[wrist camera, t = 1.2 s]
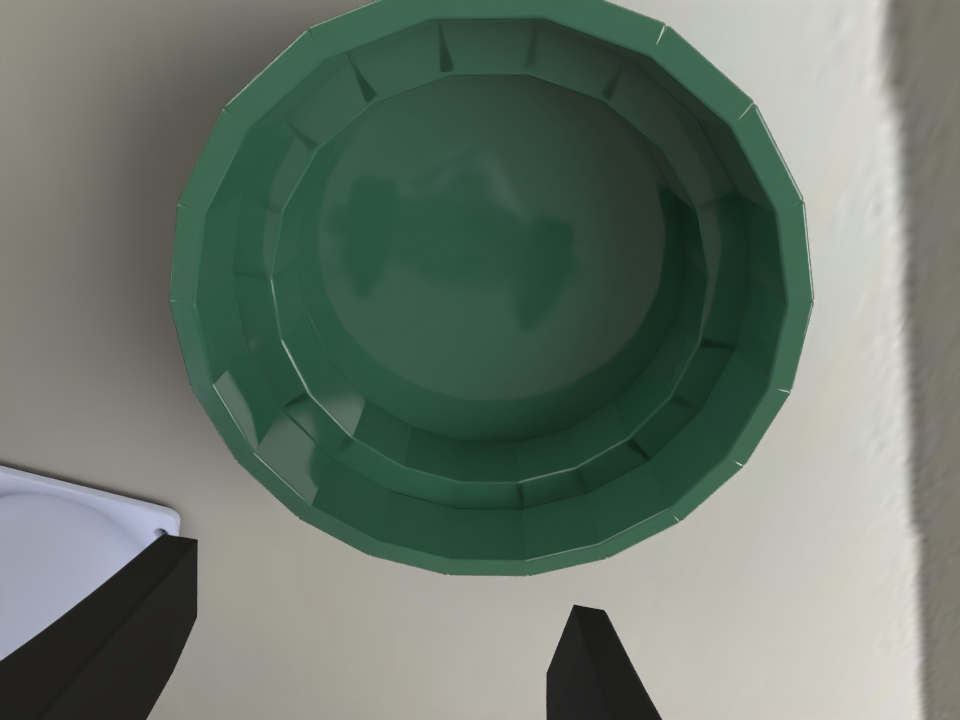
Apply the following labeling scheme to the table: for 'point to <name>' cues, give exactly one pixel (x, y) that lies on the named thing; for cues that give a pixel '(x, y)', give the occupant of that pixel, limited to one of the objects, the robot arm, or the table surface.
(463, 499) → the bowl
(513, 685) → the table surface
